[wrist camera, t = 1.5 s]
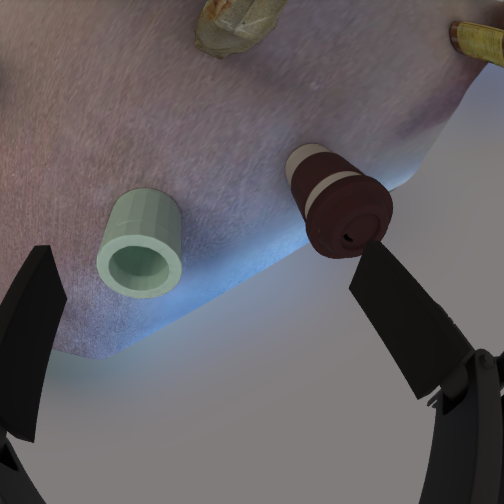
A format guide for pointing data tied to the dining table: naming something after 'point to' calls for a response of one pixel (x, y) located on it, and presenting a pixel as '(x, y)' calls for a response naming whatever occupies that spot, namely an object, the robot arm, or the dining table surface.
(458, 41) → the sauce bottle
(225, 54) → the sculpture
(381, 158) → the dining table surface
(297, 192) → the coffee cup
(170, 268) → the jar
